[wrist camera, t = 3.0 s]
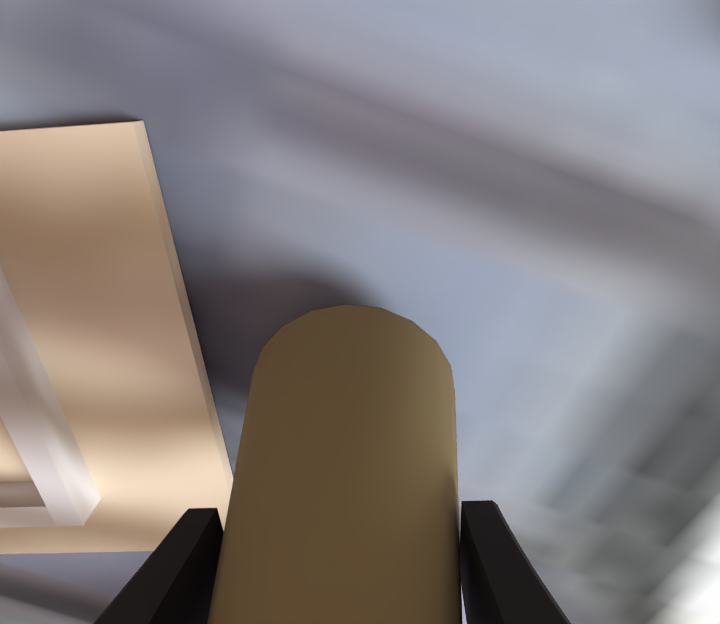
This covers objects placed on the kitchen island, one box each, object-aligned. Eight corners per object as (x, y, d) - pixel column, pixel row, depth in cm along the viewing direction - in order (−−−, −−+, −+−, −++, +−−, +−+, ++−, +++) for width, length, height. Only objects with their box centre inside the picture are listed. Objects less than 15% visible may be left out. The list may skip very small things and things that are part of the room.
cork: (209, 380, 14) (-198, 1129, 4) (367, 261, 12) (327, 1127, 2) (341, 495, 16) (283, 1178, 6) (494, 408, 14) (772, 1200, 4)
